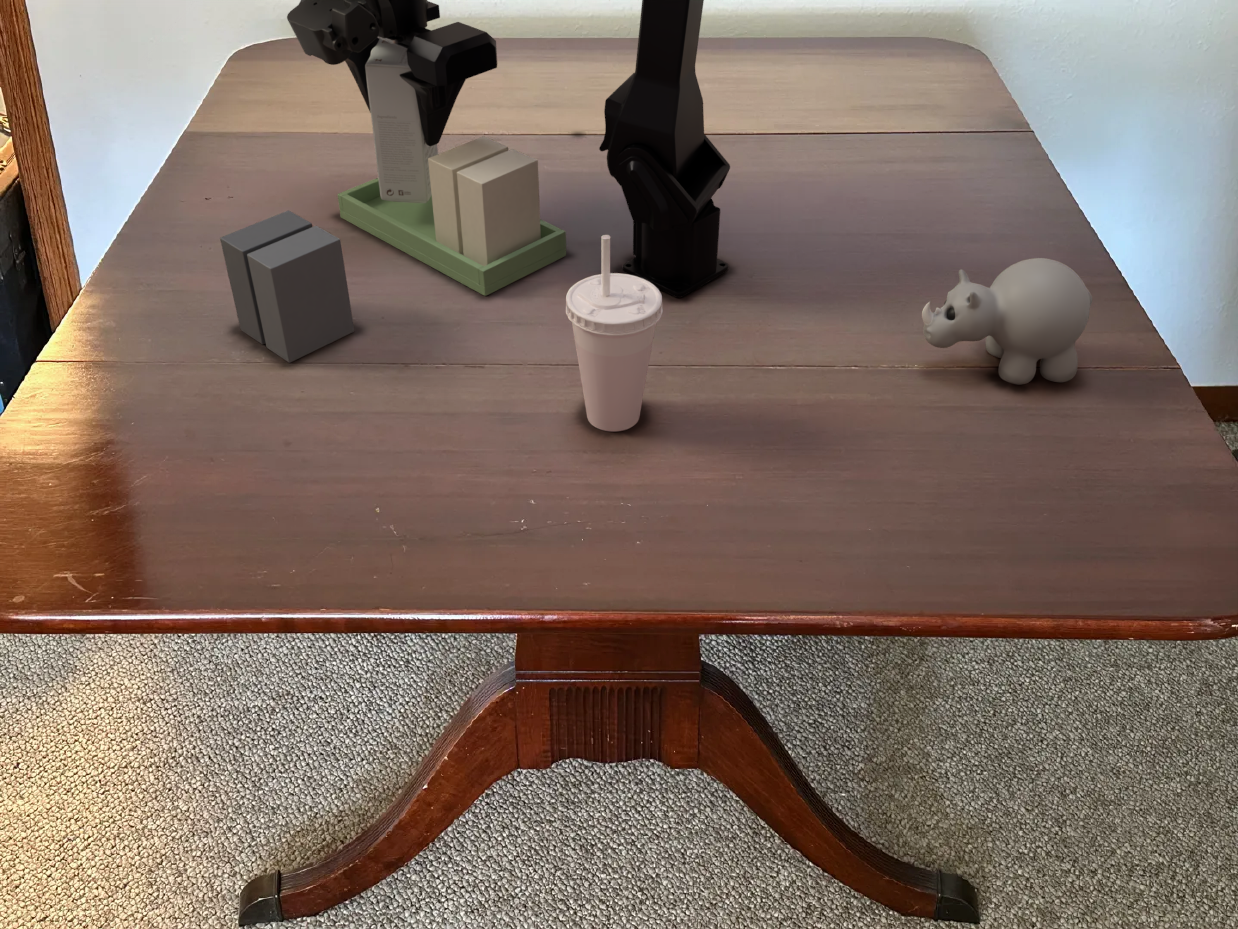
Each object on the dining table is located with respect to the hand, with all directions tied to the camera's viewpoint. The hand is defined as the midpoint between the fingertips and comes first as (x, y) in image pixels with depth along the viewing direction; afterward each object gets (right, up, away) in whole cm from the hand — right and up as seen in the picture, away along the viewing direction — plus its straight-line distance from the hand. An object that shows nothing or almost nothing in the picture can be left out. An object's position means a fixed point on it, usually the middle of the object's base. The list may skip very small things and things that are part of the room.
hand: (406, 132), depth 102 cm
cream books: (+7, -11, 0) cm, 13 cm away
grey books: (-7, -18, -9) cm, 21 cm away
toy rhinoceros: (+46, -21, -12) cm, 52 cm away
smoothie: (+18, -25, -17) cm, 35 cm away
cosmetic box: (0, -4, +3) cm, 5 cm away
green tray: (+4, -8, +2) cm, 9 cm away
